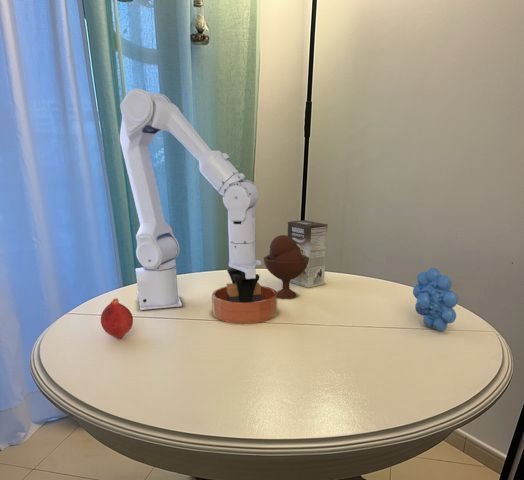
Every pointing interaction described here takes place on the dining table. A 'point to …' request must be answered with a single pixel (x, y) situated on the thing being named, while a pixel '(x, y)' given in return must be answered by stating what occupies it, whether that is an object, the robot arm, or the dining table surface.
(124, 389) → the dining table surface
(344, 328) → the dining table surface
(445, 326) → the grapes
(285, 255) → the ice cream bowl
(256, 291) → the eraser
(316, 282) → the coffee box
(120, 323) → the onion
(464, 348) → the dining table surface
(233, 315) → the bowl
